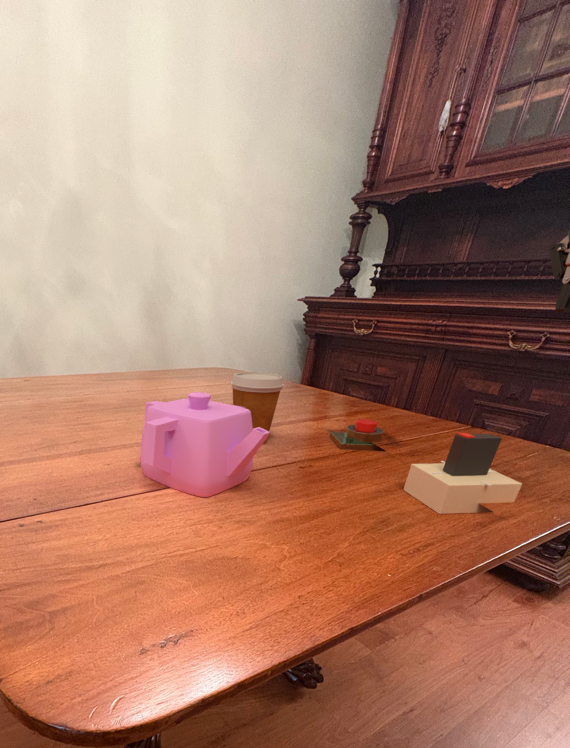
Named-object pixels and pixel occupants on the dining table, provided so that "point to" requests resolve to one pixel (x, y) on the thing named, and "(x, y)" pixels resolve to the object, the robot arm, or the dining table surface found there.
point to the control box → (458, 489)
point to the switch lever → (471, 454)
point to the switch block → (357, 439)
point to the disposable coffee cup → (257, 396)
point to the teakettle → (198, 444)
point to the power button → (365, 425)
